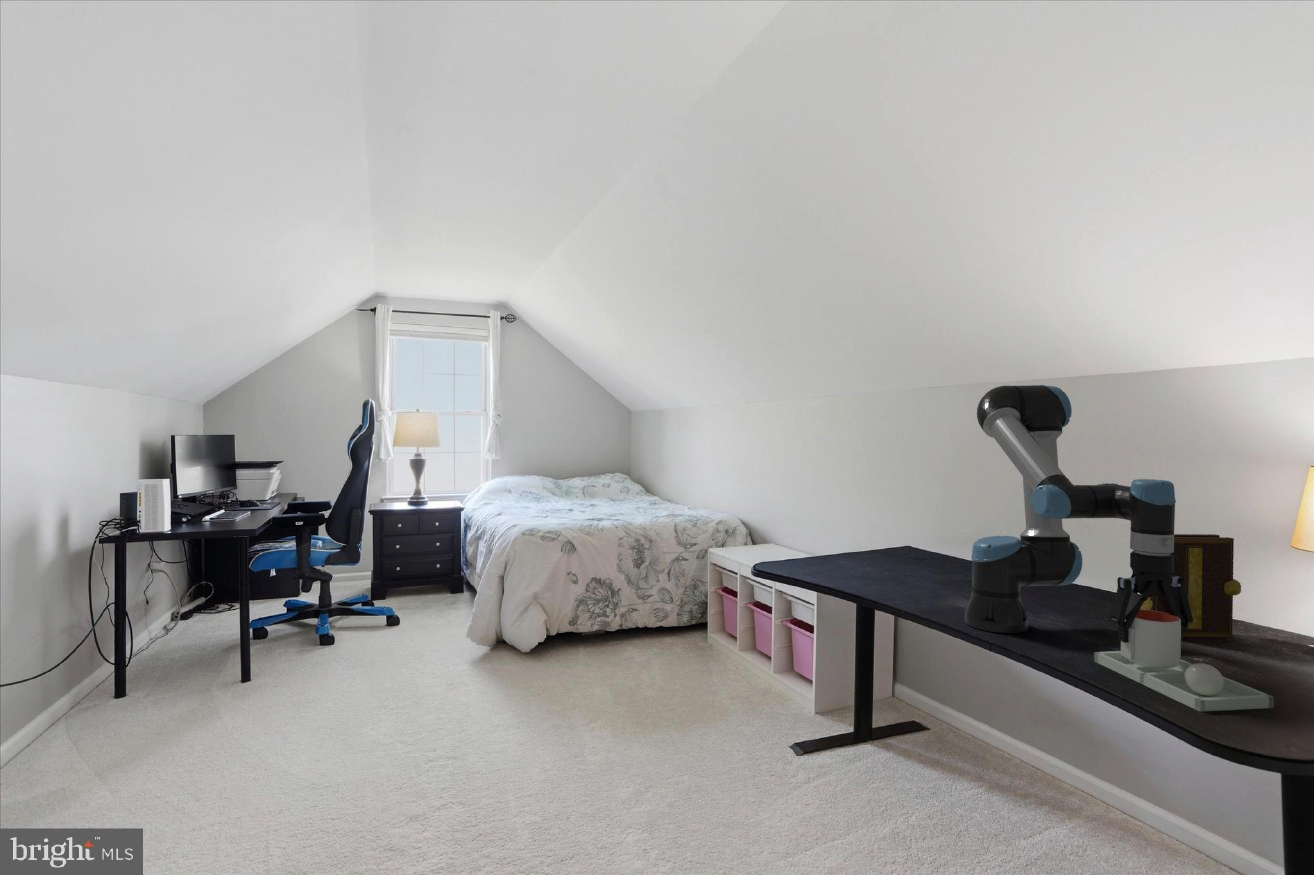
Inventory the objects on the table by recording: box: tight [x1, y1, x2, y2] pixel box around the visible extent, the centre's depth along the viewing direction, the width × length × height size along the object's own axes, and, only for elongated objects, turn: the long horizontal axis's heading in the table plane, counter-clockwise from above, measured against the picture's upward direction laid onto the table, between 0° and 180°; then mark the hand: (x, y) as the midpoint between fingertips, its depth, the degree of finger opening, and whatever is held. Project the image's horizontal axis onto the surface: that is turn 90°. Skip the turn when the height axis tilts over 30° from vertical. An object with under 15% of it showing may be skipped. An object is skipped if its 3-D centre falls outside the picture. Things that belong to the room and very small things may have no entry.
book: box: [1140, 533, 1242, 639], centre depth 171 cm, size 22×8×25 cm, turn 87°
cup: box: [1125, 608, 1182, 668], centre depth 143 cm, size 10×10×10 cm
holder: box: [1093, 650, 1275, 712], centre depth 137 cm, size 26×15×3 cm, turn 5°
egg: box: [1184, 662, 1224, 696], centre depth 130 cm, size 6×6×6 cm
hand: (1150, 656), depth 143 cm, fingers closed on cup, 10 cm apart
